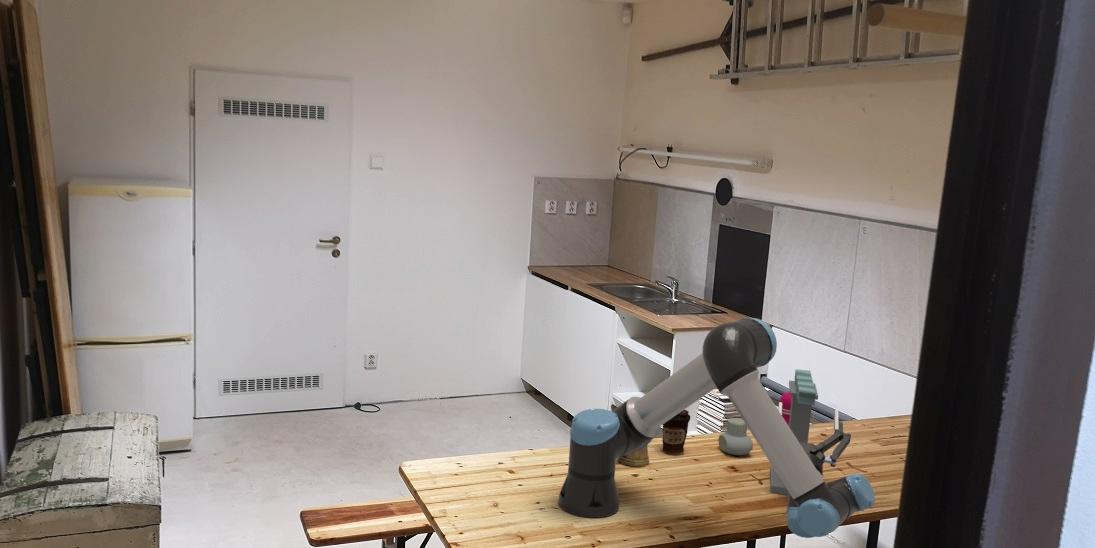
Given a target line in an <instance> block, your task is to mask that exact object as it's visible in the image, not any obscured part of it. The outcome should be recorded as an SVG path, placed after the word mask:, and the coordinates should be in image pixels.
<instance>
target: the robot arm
mask: <svg viewBox="0 0 1095 548" xmlns="http://www.w3.org/2000/svg"><path fill="white" fill-rule="evenodd" d="M777 344H778V343H777V336H776V334H775V332H774V331H773V329H772V327H771V325H769V324H768V323H766V322H765V321H764V320H762V319H760V318H755V317H745V318H741V319H739V320H735V321H731V322H726V323H722V324H719V325H716V326H715V327H713V328H712V329H710V331H709V332H708V333H707V335H706V337H705V338H704V341H703V344H702V353H700V354H699V355H698V356H696V357H695V358H694V359H692V360H690V361H689V362H688V363H687V364H685V365H684V366H682V367H681V368H680V369H678V370H676V372H674V373H672V375H670V376H669V377H667V378H666V379H664V380H663V381H662V382H660V383H659V384H658V385H656V386H655V387H654V388H651V390H650V391H648V392H647V393H645V394H644V395H643V396H641V397H639V396H632V397H629V399H627V400H625V401H624V402H623V403H621V404H620V405H618V406H616V407H617V408H616V409H614V410H609V409H605V408H593V409H589V408H588V409H584V410H582V411H580V412H578V413H577V414H576V415H574V417H573V418H572V422H571V427H570V431H569V434H570V439H569V452H568V453H569V454H568V455H569V456H568V467H567V468H568V470H567V474H566V477H565V480H564V482H563V485H562V487H561V489H560V491H559V494H558V495H559V496H558V504H559V507H560V508H561V509H562V510H564V511H565V512H567V513H569V514H572V515H575V516H579V517H584V518H605V517H610V516H612V515H615V514H616V513H617V512H618V511H619V510H620V496H619V491H618V488H617V483H616V478H615V474H616V464H617V463H616V462H617V460H618V458H620V457H622V456H624V455H626V454H629V453H631V452H634V451H636V450H640V449H642V448H644V447H645V446H647V445H649V444H650V443H651V442H652V441H653V439H654V438H656V437H657V436H658V435H659V434H660V432H661V429H662V428H661V427H662V426H663V424H664V423H665V422H667V421H668V420H670V419H671V418H673V417H674V416H676V415H677V414H678V413H680V412H681V411H683V410H686V409H687V408H689V407H690V406H691V405H693V404H694V403H696V402H697V401H699V400H701V399H702V398H703V397H705V396H706V395H707V394H709V393H711V392H712V391H714V390H715V389H717V390H718V391H719V393H720V395H723V396H726V397H728V399H729V400H730V402H731V403H732V405H733V407H734V408H735V410H736V411H737V413H738V414H739V416H740V419H742V420H743V421H744V422H745V424H746V425H747V430H749V432H750V433H751V435H752V437H753V438H754V439H755V442H756V443H757V444H758V446H759V447H760V449H761V451H762V452H763V454H764V455H765V457H766V459H767V460H768V462H769V463H770V466H773V468H774V469H775V471H776V473H777V474H778V476H779V477H780V479H781V480H782V482H783V484H784V485H785V487H786V488H787V490H788V496H787V505H786V507H787V508H786V521H787V528H788V530H790V532H791V533H792V534H794V535H796V536H797V537H800V538H805V539H810V538H820V537H825V536H827V535H829V534H830V533H833V532H835V531H836V529H838V528H839V526H841V525H842V524H843V523H844V522H845V521H847V520H848V518H851V516H852V515H853V514H855V513H858V512H864V510H867V509H870V508H872V507H873V506H874V504H875V502H876V498H875V492H874V489H873V486H872V485H871V483H870V482H869V480H868V479H867V478H866V476H864V475H863V474H861V473H855V474H851V475H845V476H844V477H841V478H838V479H835V480H832V481H830V482H827V483H826V482H825V480H824V478H823V476H824V475H823V474H824V471H823V470H824V469H823V468H824V463H826V464H829V465H830V467H832V468H835V467H836V466H837V462H838V461H837V460H839V458H840V457H841V455H842V454H843V452H844V451H846V450H845V449H846V448H847V447H848V446H849V444H850V443H851V439H852V434H851V433H846V432H844V423H843V422H841V421H839V410H838V409H835V410H834V414H833V434H832V435H830V436H829V437H828V438H826V439H825V440H824V441H822V442H819V443H817V444H816V445H815V443H812V442H811V443H810V442H808V443H805V442H800V443H799V441H798V440H797V438H796V437H795V435H794V434H793V432H792V431H791V429H790V428H789V426H788V424H787V423H786V421H785V420H784V418H783V417H782V403H781V402H780V401H779V402H778V408H777V406H776V404H775V403H774V402H773V400H772V398H771V396H770V395H769V393H768V391H767V390H766V388H764V386H763V384H762V382H761V381H760V380H759V373H760V372H759V369H758V368H760V367H761V368H762V367H764V366H767V364H769V362H771V361H772V360H773V358H774V357H775V354H776V352H777V347H778V346H777ZM834 446H836V447H835V448H834V449H833V451H832V453H830V454H828V455H827V456H826V455H825V453H826V452H827V451H829V450H830V449H831V448H833V447H834Z"/></svg>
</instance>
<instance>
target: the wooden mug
mask: <svg viewBox="0 0 1095 548" xmlns="http://www.w3.org/2000/svg"><path fill="white" fill-rule="evenodd" d="M617 407H618V406H617V405H615V404H613V403H612V404H611V405H610V411H612V410H614V409H616V408H617ZM648 445H649V444H648ZM648 445H647V446H645V447H644V448H642V449H640V450H636V451H634V452H631V453H629V454H626V455H624V456H622V457H620V458H617V460H618V461H619V463H620V462H621V463H620V464H622V463H623V464H622V465H624V464H625V465H624V466H627V465H629V466H628V467H632V466H638V467H637V468H640V467H639V466H643V467H645V465H646V466H647V465H649V464H650V456H649V451H648V450H649V449H648Z"/></svg>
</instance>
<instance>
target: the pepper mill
mask: <svg viewBox="0 0 1095 548" xmlns="http://www.w3.org/2000/svg"><path fill="white" fill-rule="evenodd" d="M787 391H788V392H784V393H783V394H782V395H781V396H780V399H779V402H781V403H782V414H781V415H782V417H783V418H784V420H785V421H786V423H787V424H788V426H789V420H790V411H791V401H792V396H790V389H789V388H788V390H787Z"/></svg>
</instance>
